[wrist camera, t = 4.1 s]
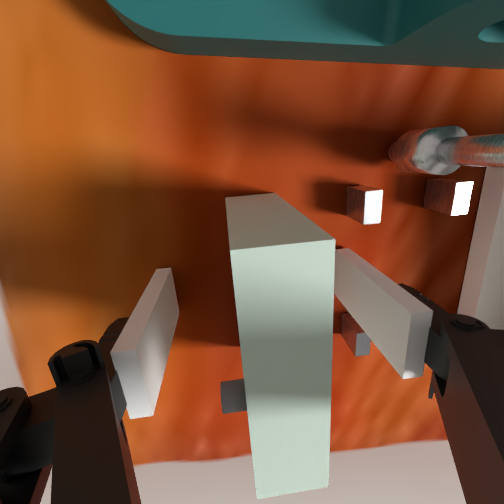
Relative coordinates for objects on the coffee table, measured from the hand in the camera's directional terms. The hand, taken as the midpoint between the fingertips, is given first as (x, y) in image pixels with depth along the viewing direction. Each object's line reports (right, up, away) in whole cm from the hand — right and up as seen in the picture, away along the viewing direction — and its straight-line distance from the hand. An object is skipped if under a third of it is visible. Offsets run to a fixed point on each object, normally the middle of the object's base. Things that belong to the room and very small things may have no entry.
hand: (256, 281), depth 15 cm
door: (0, 0, 0) cm, 0 cm away
